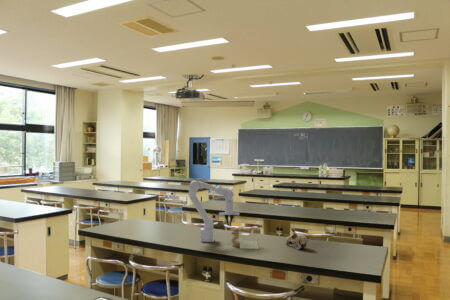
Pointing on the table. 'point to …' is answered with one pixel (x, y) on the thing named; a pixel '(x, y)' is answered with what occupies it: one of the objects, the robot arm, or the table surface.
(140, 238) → the table surface
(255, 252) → the table surface
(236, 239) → the wooden block
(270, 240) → the table surface
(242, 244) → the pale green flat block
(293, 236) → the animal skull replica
